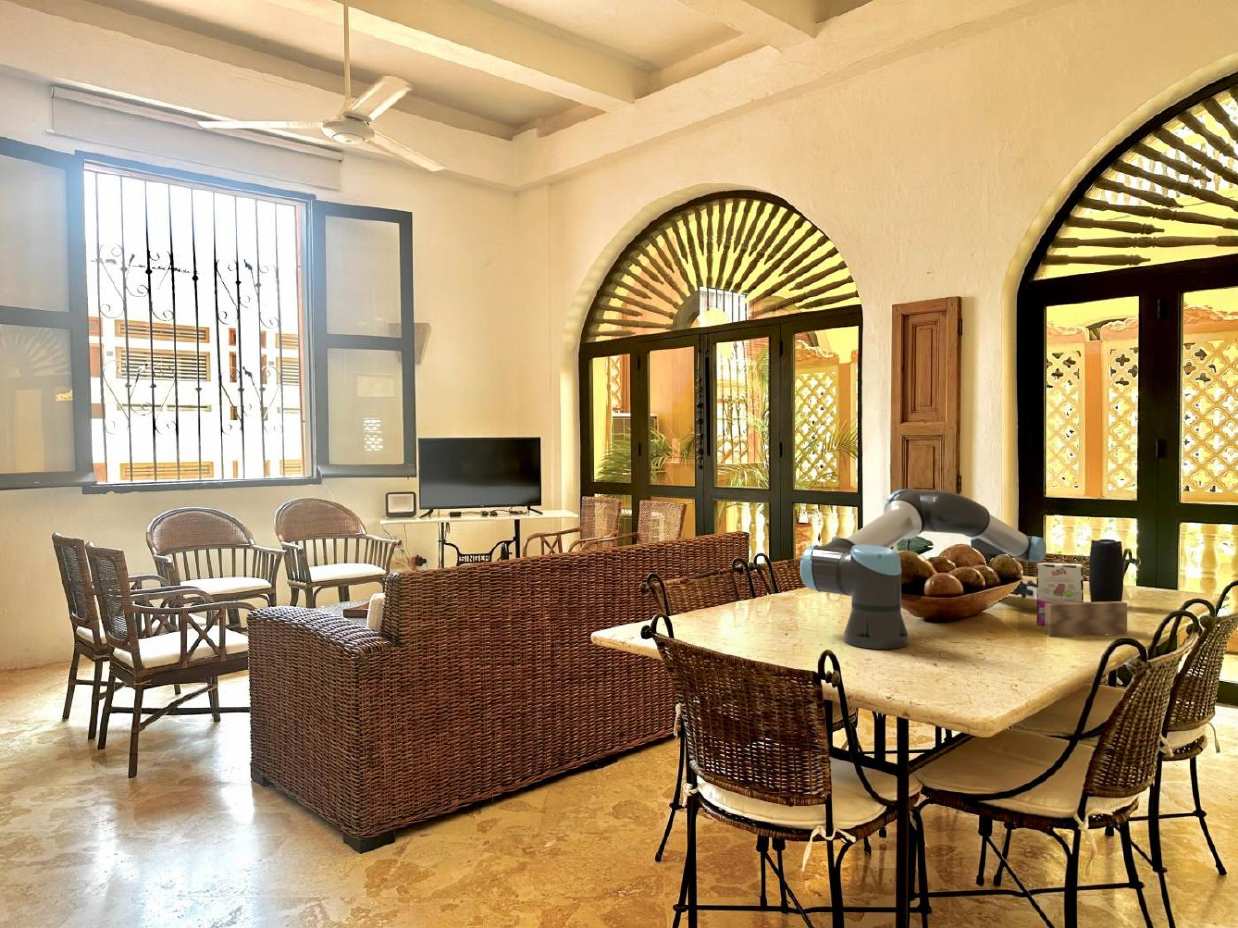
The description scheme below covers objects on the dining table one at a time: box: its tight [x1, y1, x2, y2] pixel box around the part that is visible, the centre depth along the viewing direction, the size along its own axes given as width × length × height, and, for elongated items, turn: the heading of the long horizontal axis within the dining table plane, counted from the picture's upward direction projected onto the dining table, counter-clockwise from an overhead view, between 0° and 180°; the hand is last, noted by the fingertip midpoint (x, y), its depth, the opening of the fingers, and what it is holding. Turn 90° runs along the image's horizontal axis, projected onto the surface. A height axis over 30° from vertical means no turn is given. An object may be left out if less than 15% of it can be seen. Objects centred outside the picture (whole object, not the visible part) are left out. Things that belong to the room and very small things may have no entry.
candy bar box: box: [1035, 561, 1085, 626], centre depth 230 cm, size 11×5×16 cm, turn 62°
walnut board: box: [1044, 600, 1128, 637], centre depth 219 cm, size 20×2×8 cm, turn 94°
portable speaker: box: [1088, 538, 1124, 602], centre depth 254 cm, size 9×9×20 cm
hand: (1042, 595), depth 239 cm, fingers closed
